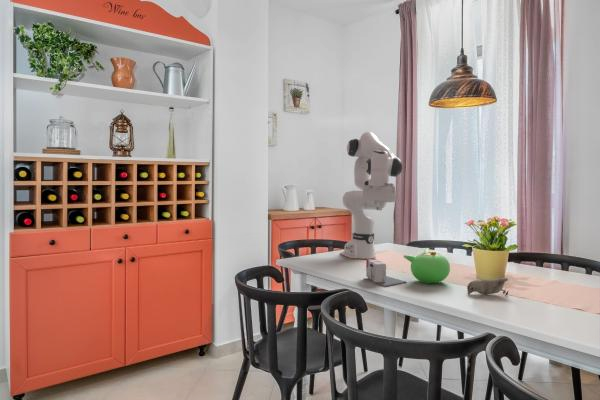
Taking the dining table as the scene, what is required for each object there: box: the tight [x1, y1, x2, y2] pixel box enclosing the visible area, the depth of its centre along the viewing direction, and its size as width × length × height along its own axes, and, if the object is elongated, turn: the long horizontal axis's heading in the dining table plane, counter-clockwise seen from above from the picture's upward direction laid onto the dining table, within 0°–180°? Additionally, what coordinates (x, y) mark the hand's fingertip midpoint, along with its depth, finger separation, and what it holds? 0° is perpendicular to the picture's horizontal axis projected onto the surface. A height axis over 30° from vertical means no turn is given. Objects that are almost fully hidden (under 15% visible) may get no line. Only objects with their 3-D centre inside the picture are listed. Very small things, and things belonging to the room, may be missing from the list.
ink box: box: [365, 258, 387, 283], centre depth 194 cm, size 8×5×12 cm
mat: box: [363, 275, 407, 288], centre depth 194 cm, size 14×13×1 cm
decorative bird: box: [466, 277, 510, 297], centre depth 174 cm, size 5×16×8 cm, turn 85°
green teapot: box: [403, 248, 451, 284], centre depth 193 cm, size 18×17×15 cm
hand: (378, 210), depth 213 cm, fingers closed
